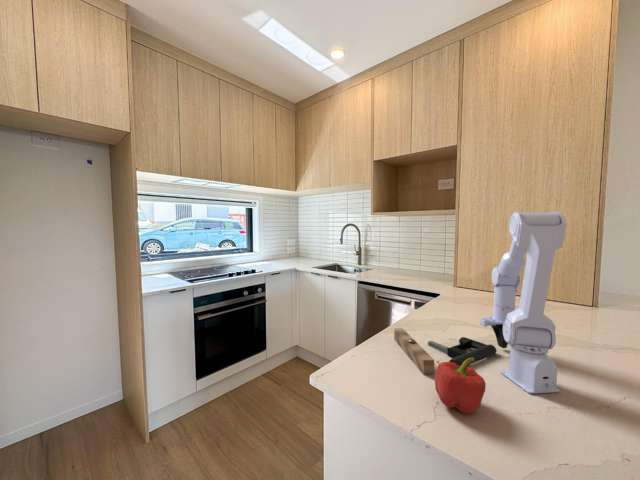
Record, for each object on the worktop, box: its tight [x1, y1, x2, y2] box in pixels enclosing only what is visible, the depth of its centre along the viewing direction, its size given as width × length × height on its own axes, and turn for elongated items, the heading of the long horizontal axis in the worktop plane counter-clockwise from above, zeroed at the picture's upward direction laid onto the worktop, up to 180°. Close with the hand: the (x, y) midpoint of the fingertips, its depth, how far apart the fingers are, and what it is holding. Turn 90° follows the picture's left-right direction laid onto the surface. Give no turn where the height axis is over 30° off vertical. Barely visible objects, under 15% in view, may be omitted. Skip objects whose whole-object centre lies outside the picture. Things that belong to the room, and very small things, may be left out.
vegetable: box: [434, 358, 487, 414], centre depth 60 cm, size 11×10×10 cm
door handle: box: [427, 336, 497, 367], centre depth 85 cm, size 3×20×16 cm
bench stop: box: [393, 327, 435, 375], centre depth 83 cm, size 22×3×5 cm, turn 5°
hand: (502, 346), depth 86 cm, fingers closed
